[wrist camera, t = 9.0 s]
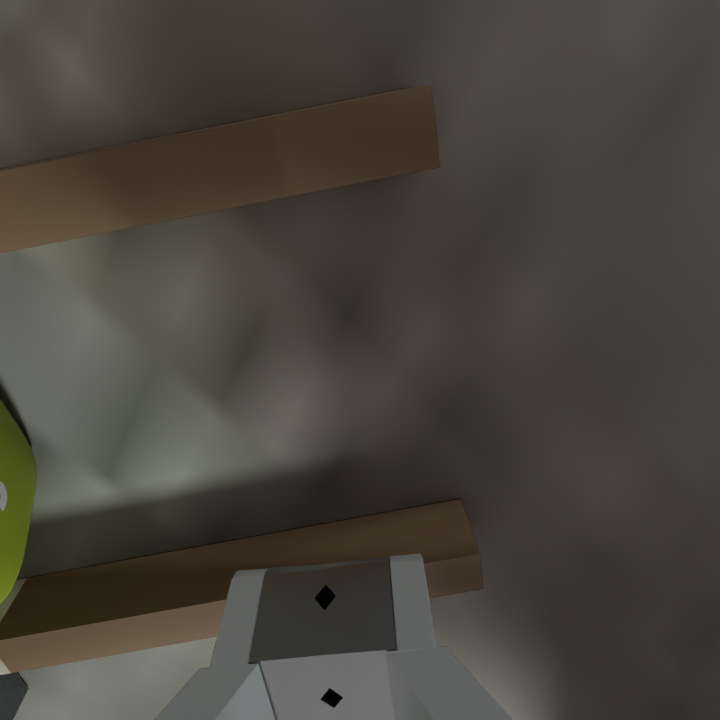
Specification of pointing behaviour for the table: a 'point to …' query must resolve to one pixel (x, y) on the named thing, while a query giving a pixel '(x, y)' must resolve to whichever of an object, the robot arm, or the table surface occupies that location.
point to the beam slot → (182, 199)
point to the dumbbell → (14, 498)
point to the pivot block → (11, 695)
